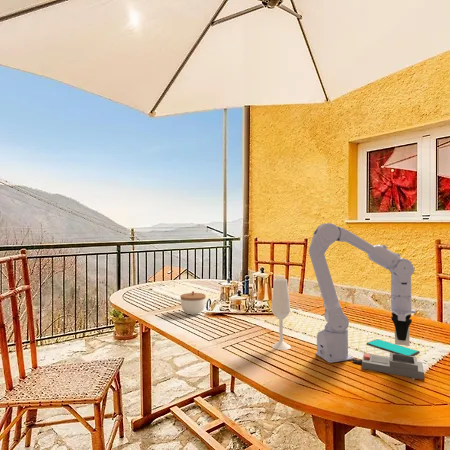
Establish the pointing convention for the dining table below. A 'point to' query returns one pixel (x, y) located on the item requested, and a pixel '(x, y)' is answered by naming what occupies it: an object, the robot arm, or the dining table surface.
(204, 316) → the dining table surface
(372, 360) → the power strip
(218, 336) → the dining table surface
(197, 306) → the lidded sugar bowl
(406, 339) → the block
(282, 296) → the champagne flute
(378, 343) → the smartphone
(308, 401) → the dining table surface
